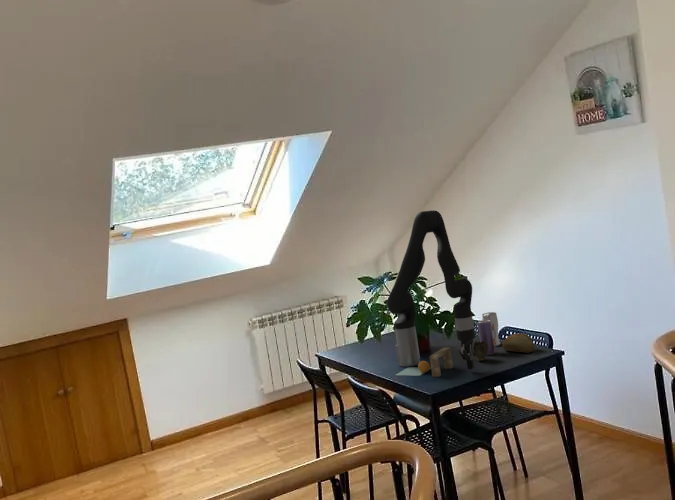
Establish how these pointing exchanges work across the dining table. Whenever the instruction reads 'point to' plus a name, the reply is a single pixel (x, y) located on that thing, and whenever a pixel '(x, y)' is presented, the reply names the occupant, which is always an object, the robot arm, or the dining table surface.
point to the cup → (481, 350)
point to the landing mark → (410, 372)
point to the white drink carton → (493, 325)
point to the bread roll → (518, 343)
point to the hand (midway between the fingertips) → (470, 368)
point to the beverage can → (486, 335)
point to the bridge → (435, 361)
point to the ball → (423, 366)
